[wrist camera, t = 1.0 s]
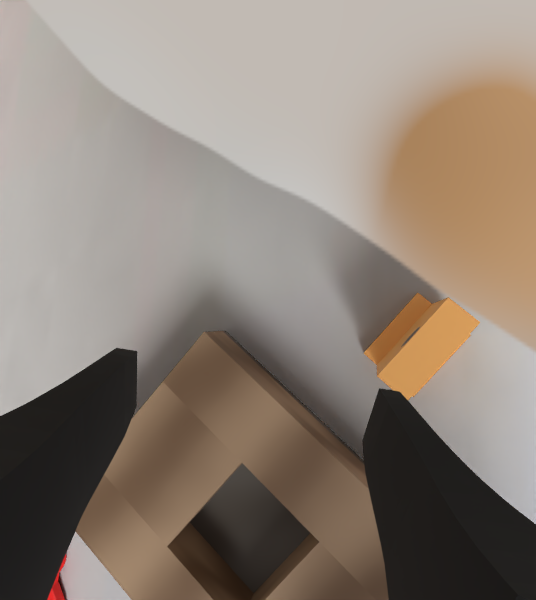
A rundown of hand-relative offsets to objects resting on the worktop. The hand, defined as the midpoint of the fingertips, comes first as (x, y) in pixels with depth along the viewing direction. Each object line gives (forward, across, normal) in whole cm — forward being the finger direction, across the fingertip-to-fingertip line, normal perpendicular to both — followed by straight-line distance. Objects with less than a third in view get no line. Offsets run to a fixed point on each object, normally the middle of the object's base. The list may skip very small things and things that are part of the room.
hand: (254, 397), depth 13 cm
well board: (+8, -2, +15) cm, 17 cm away
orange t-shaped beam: (+11, -9, +4) cm, 15 cm away
